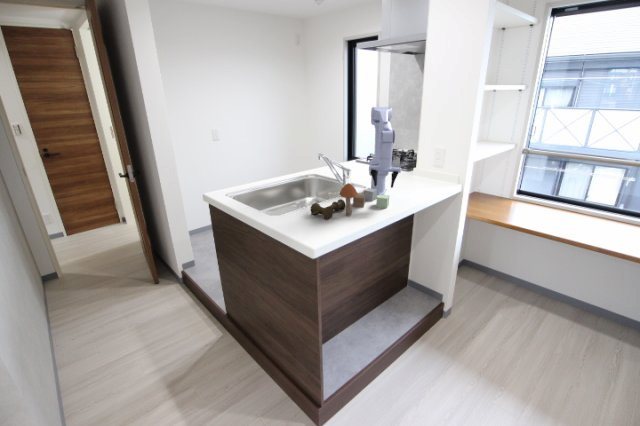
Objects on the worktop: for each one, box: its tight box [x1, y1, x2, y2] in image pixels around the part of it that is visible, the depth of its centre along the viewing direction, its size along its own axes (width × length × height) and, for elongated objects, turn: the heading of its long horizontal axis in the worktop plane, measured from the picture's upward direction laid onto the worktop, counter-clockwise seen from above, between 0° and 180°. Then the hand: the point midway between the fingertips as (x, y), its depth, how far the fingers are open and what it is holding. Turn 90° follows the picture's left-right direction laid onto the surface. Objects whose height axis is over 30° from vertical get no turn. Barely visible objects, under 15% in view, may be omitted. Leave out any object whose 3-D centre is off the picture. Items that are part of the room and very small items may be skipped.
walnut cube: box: [352, 193, 366, 208], centre depth 154 cm, size 5×5×5 cm
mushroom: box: [339, 183, 359, 217], centre depth 140 cm, size 8×8×15 cm
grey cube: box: [363, 187, 378, 202], centre depth 162 cm, size 5×5×5 cm
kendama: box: [310, 198, 346, 221], centre depth 144 cm, size 6×10×20 cm
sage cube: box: [375, 194, 390, 209], centre depth 153 cm, size 5×5×5 cm
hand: (383, 186), depth 150 cm, fingers open, 7 cm apart
